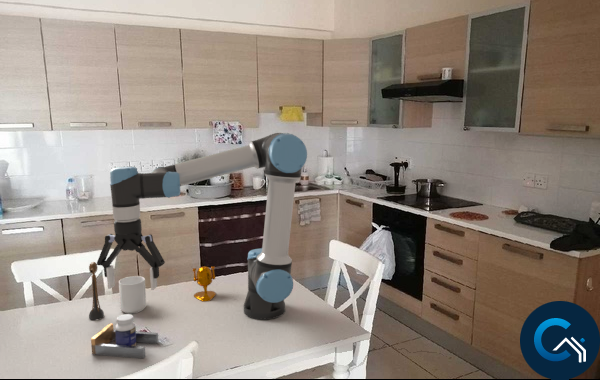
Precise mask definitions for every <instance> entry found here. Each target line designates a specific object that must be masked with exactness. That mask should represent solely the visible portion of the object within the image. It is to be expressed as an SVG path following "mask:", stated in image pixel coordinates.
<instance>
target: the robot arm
mask: <svg viewBox="0 0 600 380" xmlns="http://www.w3.org/2000/svg"><path fill="white" fill-rule="evenodd" d="M307 158H308V150H307V147H306V144H305V143H304V141H303V139H301V138H300V137H298V136H296V135H294V134H293V133H288V132H287V133H286V132H283V133H282V132H275V133H272V134H269V135H267V136H264V137H261V138H259V139H255V140H252V141H251V140H250V142H249V143H248V145H245V146H241V147H236V148H232V149H229V150H224V151H221V152H217V153H213V154H208V155H205V156H202V157H197V158H193V159H190V160H185V161H182V162H179V163H174V164H171V165H167V166H159V167H156V168H154V169H153V170H151V172H147V173H141V172H139V171H138V168H137V167H136V166H117V167H114V168H112V169H111V170H110V172H109V176H110V177H109V179H110V180H109V181H110V184H109V185H110V194H111V202H112V203H111V205H112V217H113V220H114V221H113V228H114V229H113V230H114V234H115V235H114V234H112V233H109V234H107V235H106V236H105V237H104V244H103V247H102V249H101V252H100V254H99V256H98V259H97V262H96V264H97V266H102V268H103V273H104V277H105V278H106V280H107V281H106V282H107V289H113V288H114V287H115V286H116V281H115V269H114V268H115V267H114V264H112V263H113V261H115V259H116V257H117V256H118V255H119V254H120V252H121V251H122V250H123V251H131V252H132V251H135V252H137V253H138V254H139V255H140V256H141V257H142V258H143V259H144V260H145V261H146V262H147V264H149V267H150V268H149V279H150V280H149V281H150V290H151V291H154V290H155V289H156V288H158V278H159V277H160V267H162V266H163V265H165V263H166V261H165V259H164V257H163V256H162V254H161V252H160V250H159V249H158V246H156V243H155V242H154V238H153V234H151V233H150V234H148V235H143V234H142V233H143V232H142V219H141V205H140V204H141V203H140V199H141V200H142V199H144V200H145V199H155V198H156V199H158V198H159V199H160V198H167V199H168V198H169V199H170V198H173V197H179V196H180V195H181V194H182V193H181V187H183V186H186V185H190V184H195V183H198V182H202V181H205V180H209V179H213V178H217V177H221V176H225V175H228V174H232V173H235V172H239V171H243V170H248V169H251V168H255V169H257V170H258V169H262V168H264V176H265V177H266V178H267V179H268V186H267V195H266V205H265V216H264V226H263V227H264V228H263V238H262V246H261V248H255V249H251V250H249V251H248V253H247V289H248V290H247V294H246V296H245V297H246V298H245V301H244V302H243V303H244V304H243V314H244V315H245V316H246V317H248V318H251V319H255V320H272V319H277V318H278V317H281V316H283V315H284V314H285V312H286V303H285V299H287V298H288V297H289V296H290V295H291V294H292V292H293V289H294V279H293V276H292V275H291V274H292V261H293V259H292V258H291V257H290V255H289V249H290V248H289V247H290V237H291V229H292V219H293V208H294V199H295V189H296V183H297V182H298V181H299V180H301V178H302V169H303V167H304V165H305V164H306V161H307ZM113 242H115V243H116V244H117V245H115V247H114V249H113V251H112V252H111V253H110V250H111V247H112V245H113ZM143 242H144V243H145V244H144V243H143ZM145 245H146V246H145ZM146 247H147V248H146ZM109 253H110V254H109ZM108 255H109V256H108Z"/></svg>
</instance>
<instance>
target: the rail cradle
mask: <svg viewBox="0 0 600 380" xmlns="http://www.w3.org/2000/svg"><path fill="white" fill-rule="evenodd" d="M112 341H113V342H114V341H115V342H116V333H115V329H114V323H108V324H107V325H106V326H105V327H103V328H102V329H101V330H100V331H98V332H97V333H96V334H95V335H93V336H92V337H91V338H90V342H91V343H90V344H91V355H92V354H96V355H95V356H105V357H118V358H119V357H121V358H129V359H131V358H132V359H133V358H134V359H145V358H146V347H145V346H137V345H136V346H127V345H116V344H113V343H111V342H112ZM136 343H141V344H143V343H144V344H158V343H159V332H155V331H154V332H153V331H138V330H137V331H136Z"/></svg>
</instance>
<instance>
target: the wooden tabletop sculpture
mask: <svg viewBox="0 0 600 380" xmlns="http://www.w3.org/2000/svg"><path fill="white" fill-rule="evenodd" d="M88 270H89V273H91V274H92V275H91V284H92V285H91V286H92V306H91V307H92V308H91V310H90V312H89V314H88V319H89V320H91V321H97V320H101V319H103V318H104V316H105V312H104V310H103V309H102V307H101V305H100V301H99V296H98V283H97V282H98V281H97V275H96V273H97V272H98V265H97V262H95V261H92V262H90V263H89V265H88Z"/></svg>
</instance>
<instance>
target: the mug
mask: <svg viewBox="0 0 600 380" xmlns="http://www.w3.org/2000/svg"><path fill="white" fill-rule="evenodd" d="M118 290H119V291H118V292H119V294H118V295H119V309H120V311H122V312H123V314H124V313H125V314H131V315H132V314H137V313H140V312H142V311H143V310H144V309H145V308H146V306H147V293H146V291H147V289H146V278H145V277H144V276H140V275H134V276H133V275H132V276H126V277H124V278H120V280H118Z"/></svg>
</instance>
